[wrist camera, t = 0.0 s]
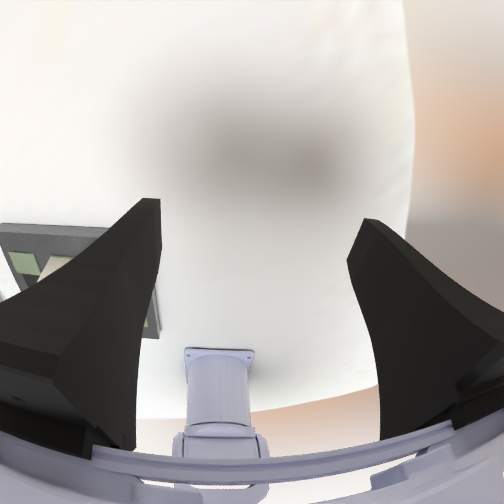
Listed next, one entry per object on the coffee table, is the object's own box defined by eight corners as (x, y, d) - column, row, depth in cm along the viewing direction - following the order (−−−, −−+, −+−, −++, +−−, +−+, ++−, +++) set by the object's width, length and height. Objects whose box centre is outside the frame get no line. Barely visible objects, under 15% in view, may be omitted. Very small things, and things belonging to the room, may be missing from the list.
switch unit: (160, 330, 31) (159, 340, 30) (41, 314, 28) (37, 323, 27) (149, 230, 22) (145, 241, 21) (1, 223, 20) (-6, 232, 19)
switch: (85, 280, 23) (70, 320, 20) (57, 277, 23) (40, 315, 20) (79, 259, 22) (61, 300, 19) (50, 257, 21) (30, 295, 18)
